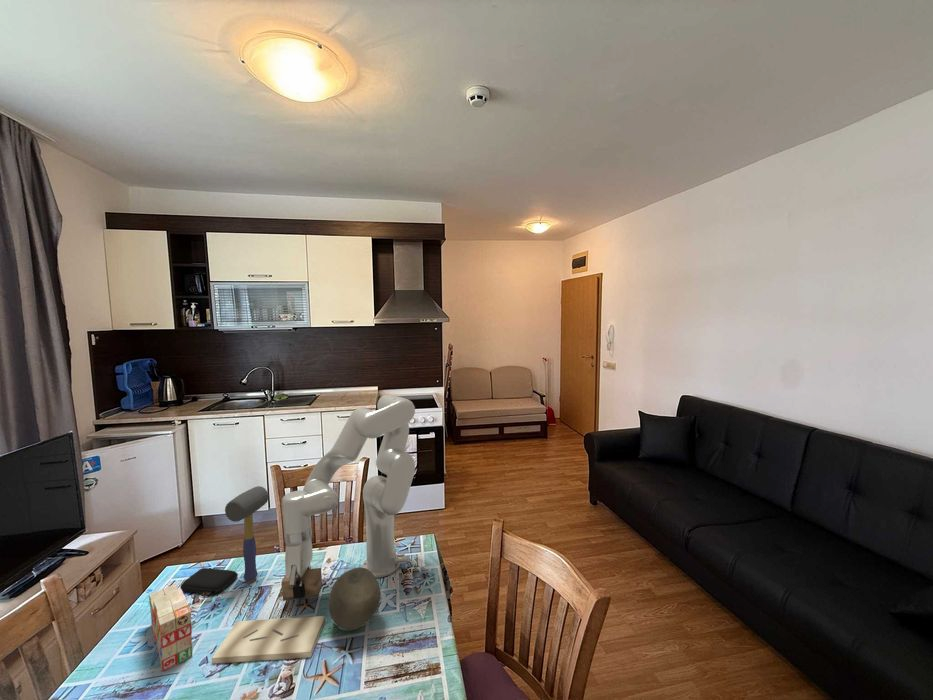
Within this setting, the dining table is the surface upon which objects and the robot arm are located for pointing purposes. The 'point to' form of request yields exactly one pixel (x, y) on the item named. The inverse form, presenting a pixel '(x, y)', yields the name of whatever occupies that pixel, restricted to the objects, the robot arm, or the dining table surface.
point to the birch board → (270, 640)
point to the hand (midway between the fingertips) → (302, 589)
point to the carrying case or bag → (209, 581)
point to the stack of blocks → (171, 626)
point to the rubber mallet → (247, 524)
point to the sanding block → (311, 584)
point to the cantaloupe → (354, 598)
